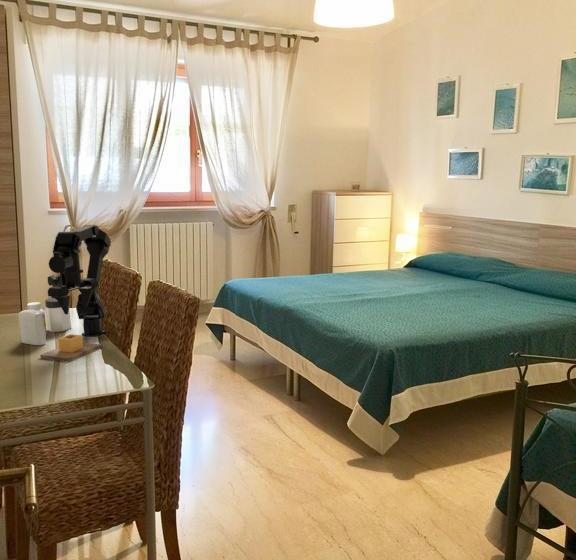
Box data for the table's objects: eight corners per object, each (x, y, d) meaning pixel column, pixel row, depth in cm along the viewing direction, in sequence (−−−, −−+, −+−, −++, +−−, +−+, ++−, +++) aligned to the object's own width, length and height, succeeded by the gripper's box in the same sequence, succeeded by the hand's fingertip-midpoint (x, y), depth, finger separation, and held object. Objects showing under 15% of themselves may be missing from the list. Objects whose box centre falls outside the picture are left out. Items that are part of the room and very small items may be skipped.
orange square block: (71, 346, 209) (69, 334, 209) (83, 347, 207) (82, 335, 206) (59, 350, 205) (58, 338, 204) (71, 352, 202) (70, 339, 202)
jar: (73, 325, 241) (70, 296, 239) (69, 331, 233) (66, 300, 231) (49, 327, 240) (46, 297, 238) (45, 332, 232) (41, 302, 230)
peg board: (75, 344, 216) (73, 327, 214) (101, 347, 211) (100, 330, 210) (40, 358, 201) (38, 340, 200) (68, 361, 196) (66, 343, 195)
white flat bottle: (19, 343, 219) (15, 310, 217) (29, 340, 223) (25, 307, 221) (38, 346, 214) (34, 312, 212) (48, 343, 218) (44, 310, 216)
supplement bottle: (40, 339, 223) (36, 305, 220) (24, 339, 224) (20, 305, 222) (50, 334, 229) (47, 301, 227) (35, 334, 231) (31, 301, 228)
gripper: (73, 262, 222) (77, 303, 225) (33, 271, 206) (38, 316, 209) (96, 263, 218) (100, 305, 221) (58, 272, 201) (63, 318, 204)
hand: (75, 311), depth 214 cm, fingers open, 9 cm apart
